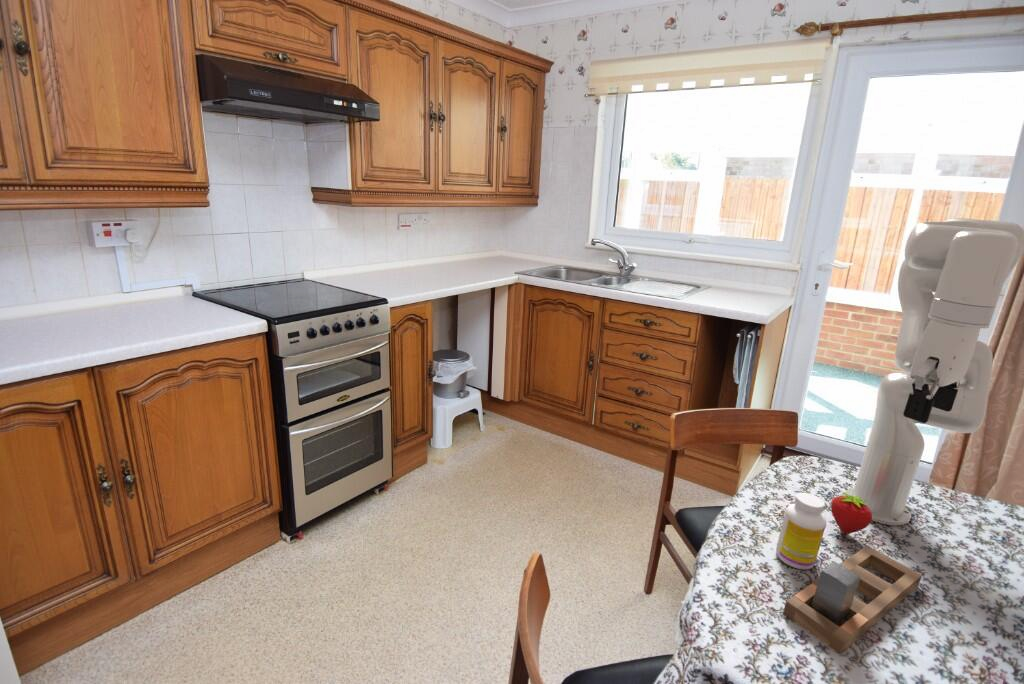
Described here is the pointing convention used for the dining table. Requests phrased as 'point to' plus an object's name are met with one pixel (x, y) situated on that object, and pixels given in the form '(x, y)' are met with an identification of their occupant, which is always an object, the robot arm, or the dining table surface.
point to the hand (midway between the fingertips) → (927, 413)
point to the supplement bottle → (802, 531)
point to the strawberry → (850, 513)
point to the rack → (860, 612)
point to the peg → (835, 593)
